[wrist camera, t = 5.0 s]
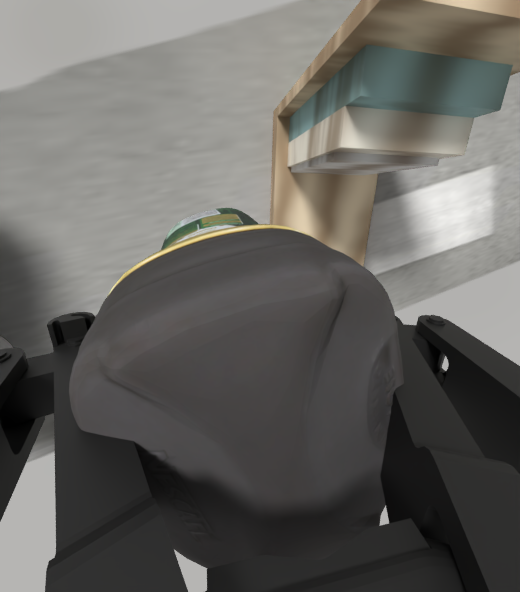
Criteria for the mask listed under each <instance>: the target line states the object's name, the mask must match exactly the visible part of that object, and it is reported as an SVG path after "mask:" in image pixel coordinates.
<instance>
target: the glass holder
mask: <svg viewBox="0 0 520 592" xmlns="http://www.w3.org/2000/svg"><path fill="white" fill-rule="evenodd" d="M5 348H13V346H12V345H11V344H10V343H9V342H8V341H7V340H6V339H4V338H3V337H1V336H0V349H5Z"/></svg>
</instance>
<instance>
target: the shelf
mask: <svg viewBox="0 0 520 592" xmlns="http://www.w3.org/2000/svg"><path fill="white" fill-rule="evenodd" d="M518 72H520V0H361V1H360V2H359V4H358V5H357V6H356V7H355V9H354V10H353V11H352V13H351V14H350V15H349V16H348V18H347V19H346V20H345V21H344V23H343V24H342V25H341V27H340V28H339V29H338V30H337V32H336V33H335V34H334V35H333V37H332V38H331V39H330V40H329V42H328V43H327V44H326V46H325V47H324V48H323V49H322V51H321V52H320V53H319V54H318V56H317V57H316V58H315V60H314V61H313V62H312V63H311V65H310V66H309V67H308V68H307V70H306V71H305V72H304V73H303V75H302V76H301V77H300V79H299V80H298V81H297V82H296V84H295V85H294V86H293V87H292V89H291V90H290V91H289V93H288V94H287V95H286V96H285V98H284V99H283V100H282V101H281V103H280V104H279V105H278V106H277V108H276V109H275V110H274V117H273V147H272V177H271V208H270V225H281V226H287V227H291V228H294V229H297V230H300V231H303V232H305V233H307V234H309V235H311V236H313V237H314V238H315V239H317V240H318V241H320V242H322V243H323V244H325V245H327V246H328V247H330V248H332V249H334V250H337V251H339V252H342V253H344V254H345V255H347V256H349V257H351V258H352V259H354V260H355V261H356V262H357V263H359V264H360V265H361V266H363V265H364V259H365V253H366V246H367V240H368V234H369V228H370V221H371V215H372V209H373V203H374V197H375V190H376V184H377V178H378V173H385V172H393V171H400V170H407V169H415V168H422V167H429V166H437V165H438V162H439V159H442V158H448V157H454V156H461V155H465V151H466V147H467V143H468V139H469V136H470V132H471V128H472V124H473V120H474V118H475V117H478V116H482V115H485V114H488V113H492V112H495V111H499V110H500V109H501V105H502V102H503V98H504V95H505V91H506V88H507V84H508V81H509V77H510V75H513V74H515V73H518Z"/></svg>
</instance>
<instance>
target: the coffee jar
mask: <svg viewBox="0 0 520 592" xmlns="http://www.w3.org/2000/svg"><path fill="white" fill-rule="evenodd" d="M402 384H404V376H403V366H402V358H401V351H400V345H399V339H398V329H397V322H396V319H395V314H394V309H393V306H392V304H391V301H390V299H389V296H388V294H387V292H386V291H385V289H384V288H383V286H382V285H381V284H380V282H379V281H378V280H377V279H376V278H375V276H374V275H373V274H372V273H371V272H369V271H368V270H367V269H365V268H364V267H363V266H361V265H360V264H359V263H357V262H356V261H355V260H354V259H352V258H351V257H349V256H347V255H345V254H344V253H342V252H339V251H337V250H334V249H332V248H330V247H328V246H327V245H325V244H323V243H322V242H320V241H318V240H317V239H315V238H314V237H313V236H311V235H309V234H307V233H305V232H303V231H300V230H297V229H294V228H291V227H287V226H281V225H270V224H258V223H257V222H256V221H255V220H253V219H252V218H251V217H250V216H248V215H247V214H245V213H243V212H242V211H239V210H236V209H232V208H220V209H214V210H209V211H205V212H201V213H198V214H195V215H193V216H190V217H188V218H186V219H184V220H182V221H180V222H179V223H177V224H176V225H175V226H174V227H173V228H172V229H171V230H170V232H169V233H168V235H167V237H166V239H165V241H164V243H163V246H162V249H161V251H159V252H157V253H155V254H153V255H151V256H149V257H148V258H146V259H144V260H143V261H141V262H139V263H138V264H137V265H135V266H134V267H133V268H131V269H130V270H128V271H127V272H126V273H124V275H123V276H122V277H121V278H120V279H119V280H118V282H117V283H116V284H115V285H114V286H113V288H112V289H111V291H110V293H109V295H108V296H107V298H106V299H105V301H104V303H103V304H102V306H101V309H100V311H99V313H98V314H97V316H96V318H95V320H94V322H93V324H92V326H91V327H90V329H89V330H88V332H87V333H86V335H85V337H84V339H83V341H82V343H81V345H80V348H79V351H78V355H77V357H76V359H75V362H74V364H73V368H72V372H71V377H70V383H69V396H70V403H71V409H72V412H73V415H74V418H75V420H76V422H77V424H78V426H79V428H80V429H81V430H83V431H86V432H90V433H95V434H99V435H104V436H109V437H114V438H120V439H125V440H131V441H134V444H135V447H136V450H137V453H138V456H139V459H140V462H141V465H142V468H143V471H144V474H145V477H146V480H147V483H148V486H149V489H150V492H151V495H152V497H153V498H155V499H156V501H157V503H158V506H159V509H160V511H161V514H162V517H163V520H164V523H165V526H166V529H167V532H168V535H169V537H170V540H171V543H172V546H173V549H175V550H176V551H177V552H179V553H180V554H182V555H183V556H184V557H186V558H187V559H189V560H191V561H193V562H196V563H197V564H199V565H201V566H203V567H206V568H212V567H217V566H221V565H225V564H229V563H233V562H237V561H241V560H245V559H249V558H253V557H257V556H261V555H270V556H282V557H293V558H304V559H316V560H321V559H325V558H327V557H329V556H330V555H331V554H333V553H334V552H335V551H337V550H338V549H340V548H341V547H342V546H344V545H345V544H347V543H348V542H349V541H351V540H352V539H354V538H355V537H356V536H358V535H359V534H361V533H362V532H363V531H365V530H366V529H369V528H373V527H377V526H379V524H380V515H381V513H382V511H383V509H384V507H385V505H386V503H385V498H384V493H383V488H382V482H381V477H380V475H381V469H382V463H383V457H384V451H385V446H386V439H387V431H388V426H389V420H390V415H391V406H392V404H393V403H392V401H393V394H394V391H395V389H396V388H397V387H399V386H401V385H402Z"/></svg>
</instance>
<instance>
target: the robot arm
mask: <svg viewBox="0 0 520 592" xmlns="http://www.w3.org/2000/svg"><path fill="white" fill-rule="evenodd" d="M96 316H97V315H96ZM95 318H96V317H95V316H94V315H93V314H92V313H88V312H77V313H70V314H66V315H62V316H59V317H57V318H54V319H53V320H51V321H49V323H48V324H47V327H48V330H49V334H50V337H51V341H52V344H53V350H54V352H53V353H50V354H46V355H42V356H38V357H33V358H28V359H26V356H25V353H24V351H23V350H22V349H20V348H5V349H0V521H1V519H2V517H3V514H4V512H5V509H6V507H7V505H8V503H9V500H10V498H11V496H12V493H13V491H14V489H15V487H16V484H17V482H18V480H19V477H20V475H21V473H22V470H23V468H24V466H25V464H26V461H27V459H28V457H29V454H30V452H31V450H32V447H33V445H34V443H35V441H36V438H37V436H38V434H39V431H40V429H41V427H42V424H43V422H44V420H45V416H46V415H49V414H52V413H54V422H55V488H56V489H55V493H56V555H55V558H53V559H52V560H50V561H49V564H48V567H47V571H46V586H45V592H188V590H187V587H186V584H185V581H184V578H183V575H182V573H181V570H180V567H179V564H178V561H177V558H176V555H175V552H174V549H173V546H172V543H171V540H170V537H169V535H168V532H167V529H166V526H165V523H164V520H163V517H162V514H161V511H160V509H159V506H158V503H157V501H156V499H155V498H153V497H152V495H151V492H150V489H149V486H148V483H147V480H146V477H145V474H144V471H143V468H142V465H141V462H140V459H139V456H138V453H137V450H136V447H135V444H134V441H131V440H125V439H120V438H114V437H109V436H104V435H99V434H95V433H90V432H86V431H83V430H81V429H80V428H79V426H78V424H77V422H76V420H75V418H74V415H73V412H72V409H71V403H70V396H69V383H70V377H71V372H72V368H73V364H74V362H75V359H76V357H77V355H78V351H79V348H80V345H81V343H82V341H83V339H84V337H85V335H86V333H87V332H88V330H89V329H90V327H91V326H92V324H93V322H94V320H95ZM395 319H396V322H397V329H398V339H399V345H400V351H401V358H402V366H403V376H404V384H402V385H401V386H399V387H397V388H396V389H395V391H394V394H393V401H392V403H393V404H392V406H391V415H390V420H389V426H388V431H387V439H386V446H385V451H384V457H383V463H382V469H381V475H380V477H381V482H382V488H383V493H384V498H385V503H386V508H387V512H388V518H389V524H385V525H382V526H377V527H373V528H369V529H366V530H365V531H363V532H362V533H361V534H359V535H358V536H356V537H355V538H354V539H352V540H351V541H349V542H348V543H347V544H345V545H344V546H342V547H341V548H340V549H338V550H337V551H335V552H334V553H333V554H331V555H330V556H329V557H327V558H325V559H321V560H316V559H304V558H293V557H282V556H270V555H261V556H257V557H253V558H249V559H245V560H241V561H237V562H233V563H229V564H225V565H221V566H217V567H212V568H208V569H207V591H205V592H520V366H519V365H517V364H516V363H514V362H512V361H511V360H509V359H508V358H506V357H504V356H503V355H501V354H500V353H498V352H497V351H495V350H494V349H492V348H491V347H489V346H488V345H486V344H484V343H483V342H481V341H480V340H478V339H477V338H475V337H474V336H472V335H470V334H469V333H467V332H466V331H464V330H463V329H461V328H460V327H458V326H456V325H455V324H453V323H452V322H450V321H448V320H446V319H443V318H442V317H440V316H435V315H431V316H429V315H424V316H420V317H419V318H418V321H417V325H403V323H402V322H401V320H400V319H399V318H398V317H396V316H395ZM445 356H446V357H447V359H448V362H449V367H448V369H447V371H445V370H443V369H442V368H441V367H442V364H443V361H444V358H445Z"/></svg>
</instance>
